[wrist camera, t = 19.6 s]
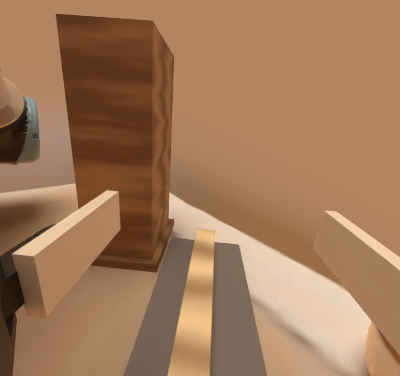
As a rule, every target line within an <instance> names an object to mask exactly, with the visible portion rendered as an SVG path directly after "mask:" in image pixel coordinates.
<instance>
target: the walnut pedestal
mask: <svg viewBox="0 0 400 376" xmlns="http://www.w3.org/2000/svg"><path fill="white" fill-rule="evenodd" d="M56 19H57V27H58V37H59V45H60V53H61V61H62V71H63V79H64V87H65V96H66V104H67V113H68V121H69V129H70V138H71V147H72V155H73V164H74V172H75V181H76V189H77V198H78V206H79V209H80V208H81V207H83V206H84V205H86V204H87V203H89V202H90V201H92V200H93V199H95V198H96V197H98V196H99V195H101V194H102V193H104V192H105V191H107V190H108V191H119V210H120V230H119V232H118V233H117V234H116V235H115V236H114V238H113V239H112V240H111V241H110V242H109V244H108V245H107V246H106V247H105V248H104V250H103V251H102V252H101V253H100V254H99V256H98V257H97V258H96V259H95V260H94V262H93V263H92V264H91V265H96V266H105V267H114V268H124V269H133V270H142V271H151V272H156V271H157V269H158V266H159V263H160V261H161V258H162V255H163V252H164V250H165V247H166V244H167V242H168V239H169V236H170V234H171V231H172V228H173V225H174V219H168V214H169V184H170V156H171V128H172V100H173V70H174V56H173V54H172V52H171V51H170V49H169V47H168V46H167V44H166V42H165V41H164V39H163V37H162V36H161V34H160V32H159V31H158V29H157V27H156V25H155V24H154V22H153V21H147V20H133V19H120V18H106V17H91V16H77V15H64V14H56Z"/></svg>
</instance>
